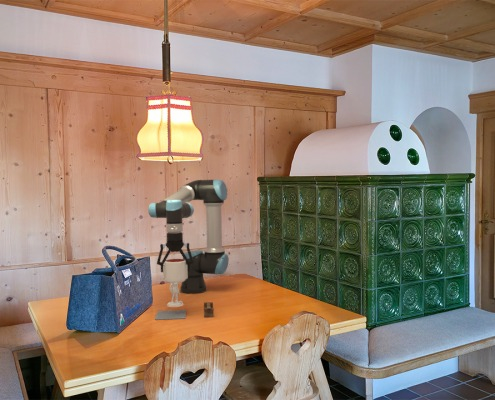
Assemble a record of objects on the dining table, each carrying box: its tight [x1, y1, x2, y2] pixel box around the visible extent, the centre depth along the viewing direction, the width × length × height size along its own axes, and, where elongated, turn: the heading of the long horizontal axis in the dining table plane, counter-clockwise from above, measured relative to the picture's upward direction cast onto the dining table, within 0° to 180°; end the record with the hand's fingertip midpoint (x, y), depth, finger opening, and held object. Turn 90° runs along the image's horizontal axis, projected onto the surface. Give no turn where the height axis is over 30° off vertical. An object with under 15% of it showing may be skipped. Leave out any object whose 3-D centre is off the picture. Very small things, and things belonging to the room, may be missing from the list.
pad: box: [154, 309, 187, 321], centre depth 230 cm, size 14×14×1 cm
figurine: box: [166, 282, 184, 308], centre depth 249 cm, size 9×9×15 cm
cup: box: [164, 258, 186, 284], centre depth 229 cm, size 10×10×10 cm
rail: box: [203, 301, 215, 318], centre depth 232 cm, size 12×4×4 cm, turn 6°
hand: (175, 278), depth 229 cm, fingers closed on cup, 10 cm apart
